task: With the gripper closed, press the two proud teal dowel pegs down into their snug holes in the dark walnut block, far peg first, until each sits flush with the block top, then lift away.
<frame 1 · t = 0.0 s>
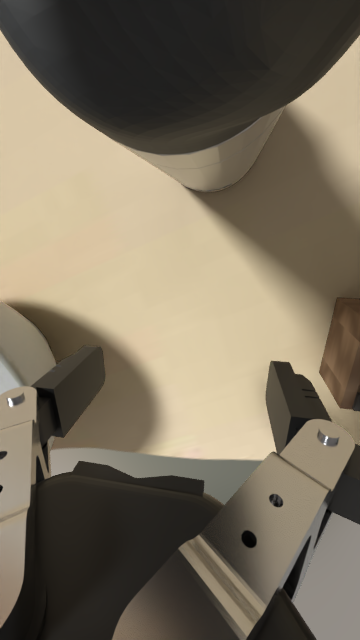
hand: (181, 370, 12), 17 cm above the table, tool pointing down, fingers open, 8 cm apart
decorative bowl: (13, 347, 36), on the table
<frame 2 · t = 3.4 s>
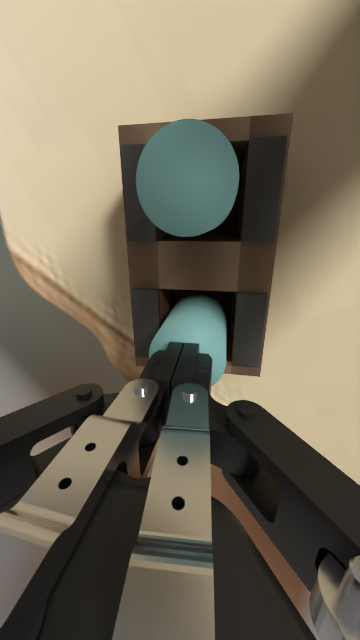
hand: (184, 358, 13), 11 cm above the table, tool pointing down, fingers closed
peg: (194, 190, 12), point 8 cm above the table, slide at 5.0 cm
socket block: (205, 255, 21), on the table
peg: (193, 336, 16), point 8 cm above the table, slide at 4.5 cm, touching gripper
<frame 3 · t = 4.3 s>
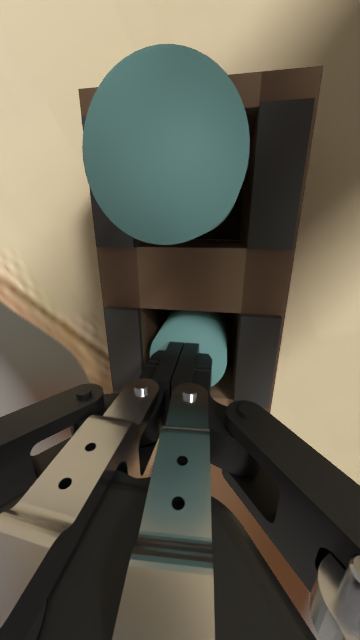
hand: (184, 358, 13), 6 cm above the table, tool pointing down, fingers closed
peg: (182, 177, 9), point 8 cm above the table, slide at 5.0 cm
socket block: (201, 262, 18), on the table
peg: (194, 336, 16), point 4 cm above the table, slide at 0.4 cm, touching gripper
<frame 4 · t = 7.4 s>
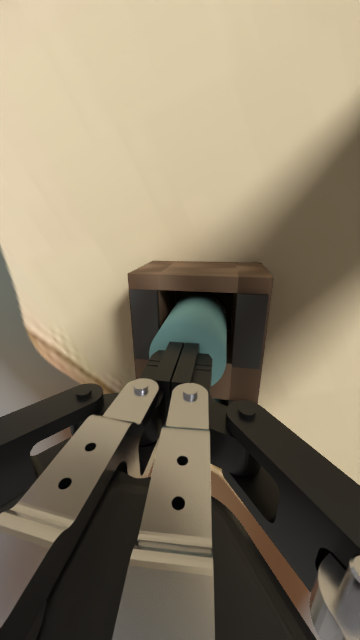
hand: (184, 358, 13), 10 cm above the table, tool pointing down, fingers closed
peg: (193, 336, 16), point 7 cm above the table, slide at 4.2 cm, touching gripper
socket block: (202, 342, 24), on the table
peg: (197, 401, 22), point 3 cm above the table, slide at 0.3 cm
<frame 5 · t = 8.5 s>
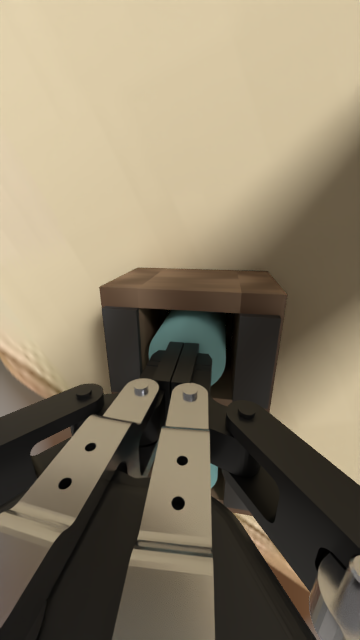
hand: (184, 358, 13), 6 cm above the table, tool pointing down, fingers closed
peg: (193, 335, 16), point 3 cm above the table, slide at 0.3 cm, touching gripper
socket block: (197, 363, 20), on the table
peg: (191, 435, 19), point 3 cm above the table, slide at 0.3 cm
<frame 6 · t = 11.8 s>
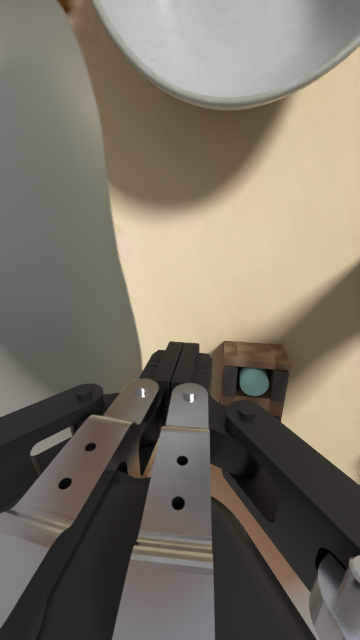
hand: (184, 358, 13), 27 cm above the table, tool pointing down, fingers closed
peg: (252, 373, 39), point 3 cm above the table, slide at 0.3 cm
socket block: (248, 382, 44), on the table
decorative bowl: (242, 0, 28), on the table
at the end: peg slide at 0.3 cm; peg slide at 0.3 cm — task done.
